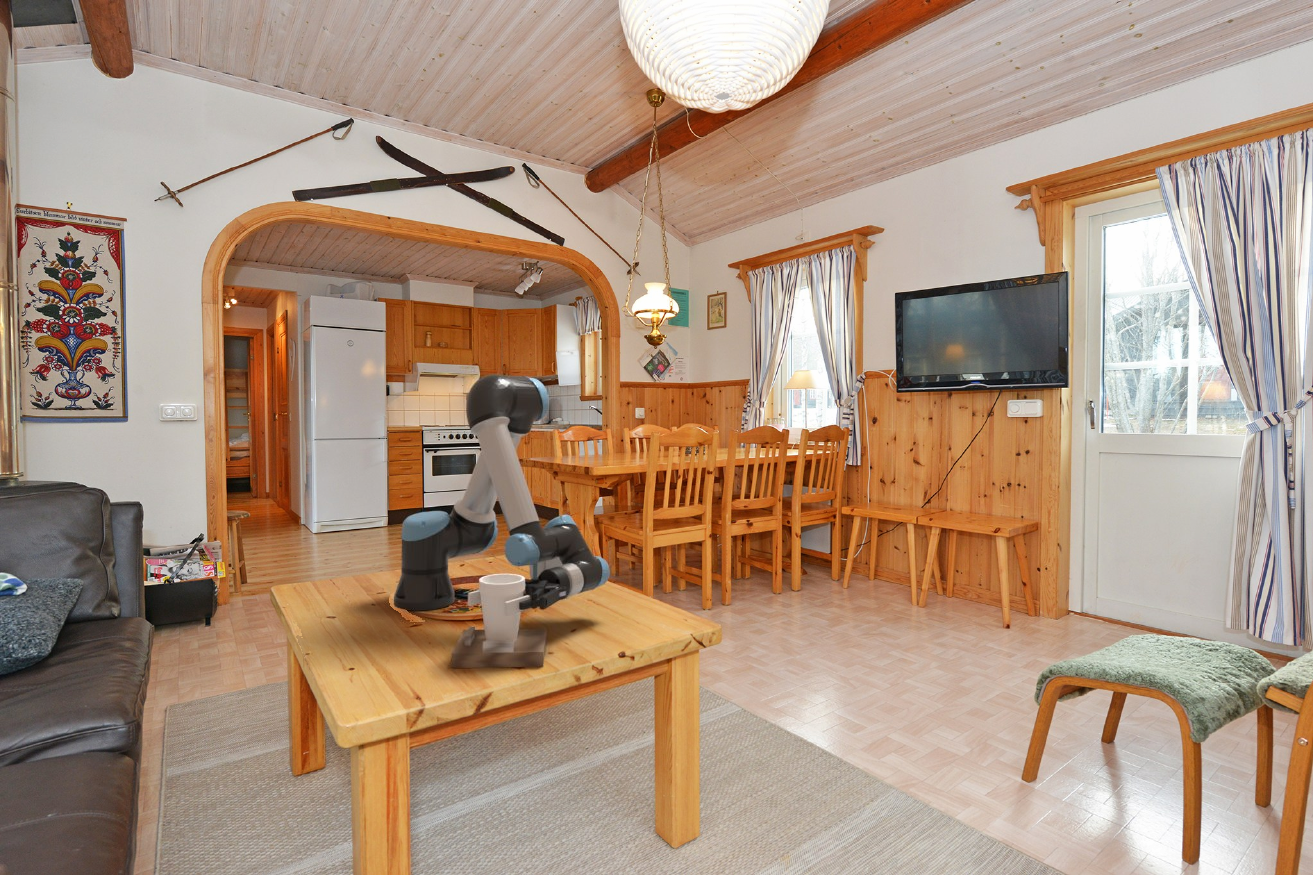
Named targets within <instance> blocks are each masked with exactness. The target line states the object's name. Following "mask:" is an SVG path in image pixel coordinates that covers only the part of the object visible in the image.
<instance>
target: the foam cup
mask: <svg viewBox="0 0 1313 875" xmlns="http://www.w3.org/2000/svg"><path fill="white" fill-rule="evenodd" d="M525 580H526V577H524V575H520V574H514V573H496V574H494V573H493V574H487V575H484V576H482V577H480V578H479V579H478V590H479V592H480V596H481V603H480V604H481V610H482V618H483V619H482V620H483V627H484V629H483V630H485V637H486V641H514V642H515V641H516V640H517V635H518V628H519V629H520V621H521V620H520V619H521V613H522V611H521V612H518V613H515V614H512V615H509V616H505V615H504V608H505V602H507V601H510V600H514V599H517V598H520V597H523V593H525Z"/></svg>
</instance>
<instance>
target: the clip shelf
mask: <svg viewBox="0 0 1313 875" xmlns="http://www.w3.org/2000/svg"><path fill="white" fill-rule="evenodd" d="M546 645H547V628H523V629H522V628H520V627H519V628H518V635H517V640H516V641H515V642H514V641H486V637H485V629H476V628H475V626H469V627H468V629H463V630H462V632H461V634H460V636H459V638H458V640H457V642H456V644H455V646H454V649H453V650H452V652H451V669H468V668H469V669H476V668H477V669H479V668H480V669H482V668H483V669H484V668H489V669H490V668H536V667H537V668H538V667H539V668H540V667H544V664H545V663H544V662H545V655H546V653H545V652H546Z"/></svg>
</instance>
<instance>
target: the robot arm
mask: <svg viewBox="0 0 1313 875" xmlns="http://www.w3.org/2000/svg"><path fill="white" fill-rule="evenodd" d="M466 397H467V398H466V402H465V403H466V405H465V414H466V420H467V425H468V427H469V430H470V433H471V434H472V435H474V436H476V437H477V438H476V439H477V440H478V443H479V447H480V453H479V455H478V457H477V461H476V463H475V466H474V468H473V471H472V474H471V476H470V479H469V482H468V484H467V486H466V490H465V491H464V495H463V497H462V498H461V499H460V500H457V501H456V502H455V503H454V505H453V507H452V511H451V512H450V514H449V513H448V512H446V511H442V510H432V511H431V510H430V511H422V512H418V513H414V514H411V515H409V516H407V517H406V518H405V519H404V520H403V522H402V528H401V533H400V537H401V564H400V565H401V570H400V571H401V572H400V573H401V574H400V578H399V580H398V584H397V586H396V589H395V592H394V595H393V606H394V607H396V608H397V609H401V610H405V611H429V610H436V609H441V608H445V607H448V606H451V605H452V604H454V602H455V590H454V587H453V584H452V581H451V578H450V574H449V559H454V558H459V557H464V556H468V555H469V556H470V555H476V554H479V553H481V552H484V551H486V550H488V549H490V548H491V547H492V546H493V545H494V544H495V542H496V540H497V537H498V532H499V528H498V527H497V526H498V520H497V517H496V516H497V515H496V512H495V511H494V508H495V504H496V502H497V500H498V504H499V505H500V508H501V512H502V514H503V515H502V516H503V518H504V521H505V523H506V526H507V529H508V533H509V536H508V537H507V539H505V543H504V556H505V558H506V560H507V561H508V562H509V563H510V564H511V565H512V566H515V567H526V566H529V565H534V564H536V563H539V562H543V561H547V560H552V559H556V558H559V559H560V561H561V563H562V564H563V565H560V566H557V567H554V568H550V569H546V570H544V571H542V572H541V573H540V575H539V576H538V578H534V579H528V580H527V579H525V590H524V593H523V597H520V598H517V599H514V600H510V601H507V602H505V608H504V615H505V616H509V615H512V614H515V613H518V612H521V613H522V612H524V611H527V610H530V609H534V610H535V609H537V608H539V610H543V611H544V610H546V609H548V608H550V607H551V606H552V605H554V604H557V602H560V601H563V600H565V599H567V600H569V599H570V597H572V596H576V595H578V594H582V593H584V592H588V591H593V590H595V589H597V588H599V587H601V586H604V585H605V584H606V583H607V582H608V580H609V578H610V574H611V572H610V566H609V564H608V561H606V560H605V559H604V558H602V557H601V556H599V555H598V556H597V555H596V556H594V555H593V552H592V551H591V550H590V548H589V545H588V544H587V542H586V541H585V538H584V536H583V534H582V533H581V530H580V528H579V526H578V525H577V524H576V522H575V521H574V519H573V518H572V516H570V514H562V515H559V516H556V517H554V518H553V519H551V520H549V521H548V523H546V524H545V525H544V528H543V527H542V523H541V522H540V520H539V516H538V513H537V510H536V506H535V505H534V504H535V503H534V501H533V498H532V495H531V492H530V489H529V486H528V483H527V481H526V477H525V475H524V471H523V469H522V465H521V463H520V460H519V457H518V453H517V449H518V448H519V444H520V442H521V439H522V437H524V436H526V435H528V434H530V432H531V430H532V428H533V424H534V422H539V421H541V420H542V419H544V418H545V417H546V416H547V413H548V411H549V407H550V398H549V394H548V391H547V388H546V387H545V385H544V384H543V383H542V382H541V381H540V380H539V379H537V378H534V377H528V376H527V375H521V376H520V375H518V376H517V375H508V374H507V375H504V374H496V373H494V374H488V375H484V376H482V377H480V378H479V379H478V380H476V381H475V382H474V384H472V386H471V387H470V388H469V391H468V394H467V396H466ZM480 604H481V596H480V592H479V589H478V590H474V591H470V592H468V593H467V606H468V607H472V606H473V607H474V606H476V605H480Z"/></svg>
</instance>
